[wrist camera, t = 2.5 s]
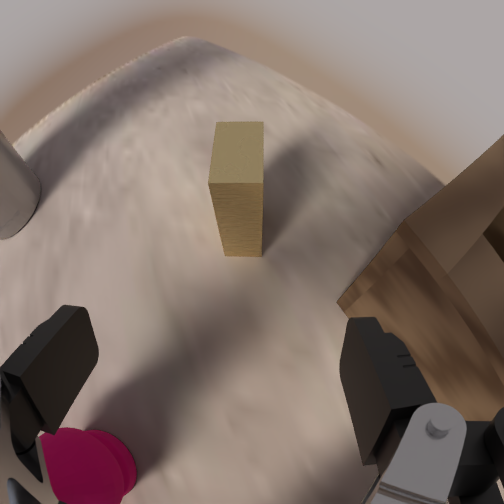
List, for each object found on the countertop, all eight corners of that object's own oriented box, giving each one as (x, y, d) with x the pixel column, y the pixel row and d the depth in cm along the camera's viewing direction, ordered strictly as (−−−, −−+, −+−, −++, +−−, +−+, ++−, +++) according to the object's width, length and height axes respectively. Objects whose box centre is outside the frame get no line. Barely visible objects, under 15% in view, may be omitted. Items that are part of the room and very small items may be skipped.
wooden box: (336, 302, 24) (403, 220, 12) (441, 215, 27) (509, 129, 15) (434, 437, 19) (547, 450, 7) (519, 326, 22) (610, 282, 10)
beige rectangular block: (228, 204, 28) (216, 122, 19) (261, 205, 28) (263, 121, 19) (225, 256, 26) (208, 183, 17) (261, 256, 26) (263, 183, 17)
